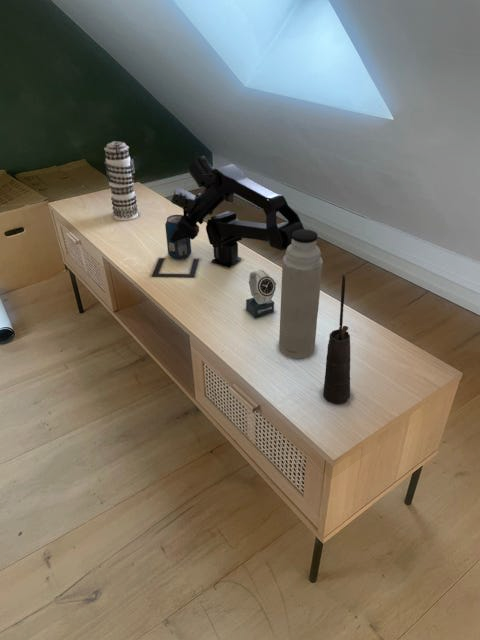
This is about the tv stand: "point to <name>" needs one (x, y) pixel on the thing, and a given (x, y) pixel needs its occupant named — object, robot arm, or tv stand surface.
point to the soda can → (177, 248)
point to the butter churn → (338, 362)
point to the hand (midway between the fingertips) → (173, 235)
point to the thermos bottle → (300, 295)
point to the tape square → (158, 266)
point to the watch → (260, 294)
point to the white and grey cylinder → (121, 180)
